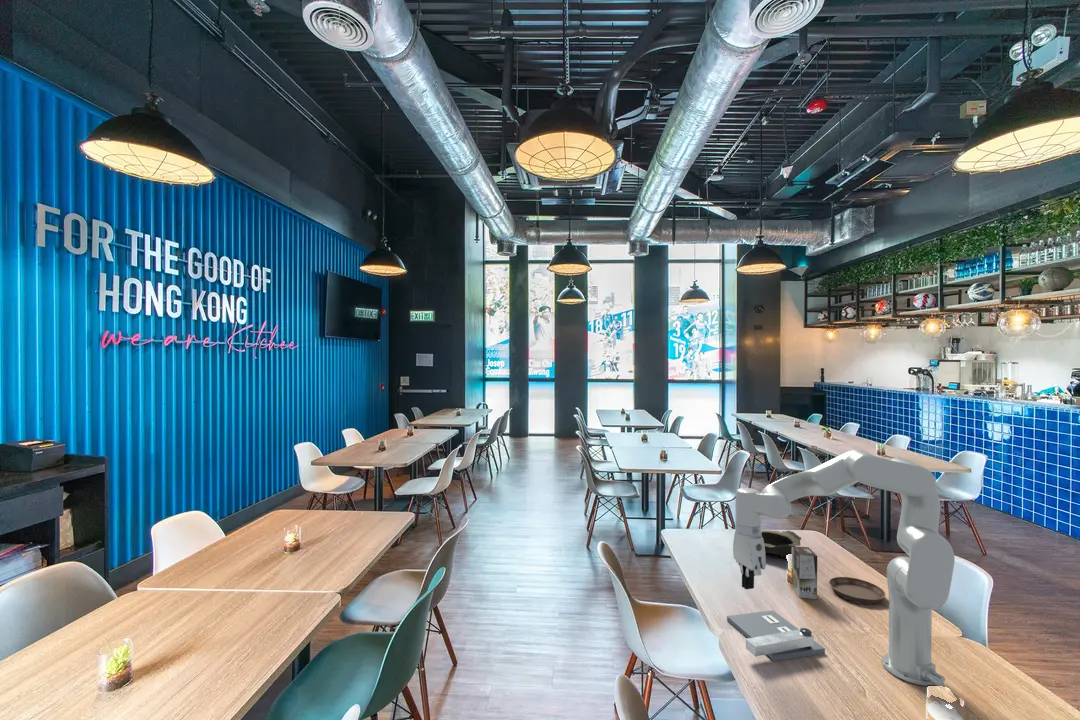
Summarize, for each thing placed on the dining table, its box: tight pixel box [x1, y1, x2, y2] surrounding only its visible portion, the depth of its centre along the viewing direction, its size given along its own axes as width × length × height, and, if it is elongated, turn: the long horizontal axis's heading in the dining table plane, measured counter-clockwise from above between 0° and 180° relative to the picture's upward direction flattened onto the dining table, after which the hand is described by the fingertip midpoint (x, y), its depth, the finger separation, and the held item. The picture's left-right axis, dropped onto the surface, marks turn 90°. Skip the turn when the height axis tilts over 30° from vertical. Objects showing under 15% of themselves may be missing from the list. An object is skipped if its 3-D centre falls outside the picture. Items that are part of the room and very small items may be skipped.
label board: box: [726, 609, 826, 662], centre depth 149 cm, size 22×18×2 cm
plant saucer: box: [828, 576, 886, 605], centre depth 177 cm, size 18×18×3 cm
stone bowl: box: [762, 529, 802, 561], centre depth 216 cm, size 25×25×9 cm
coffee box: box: [791, 546, 819, 600], centre depth 178 cm, size 9×6×16 cm
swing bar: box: [745, 627, 815, 658], centre depth 138 cm, size 22×4×4 cm, turn 106°
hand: (747, 587), depth 146 cm, fingers closed
